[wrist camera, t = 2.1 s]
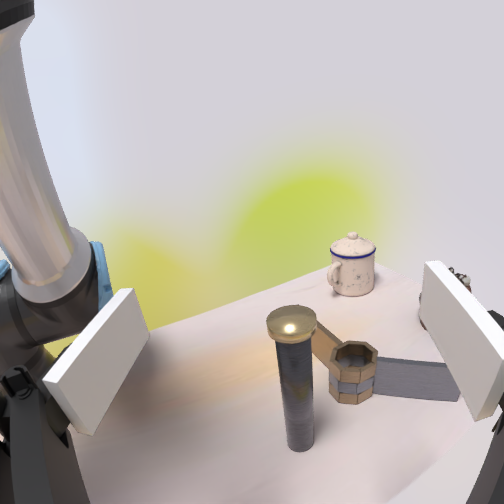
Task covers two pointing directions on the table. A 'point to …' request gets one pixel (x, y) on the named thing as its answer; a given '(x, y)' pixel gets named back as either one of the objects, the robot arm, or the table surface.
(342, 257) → the teacup with lid
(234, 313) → the table surface
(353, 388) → the hinge leaf
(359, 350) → the tan flat knuckled part
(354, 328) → the table surface
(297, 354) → the hinge pin
